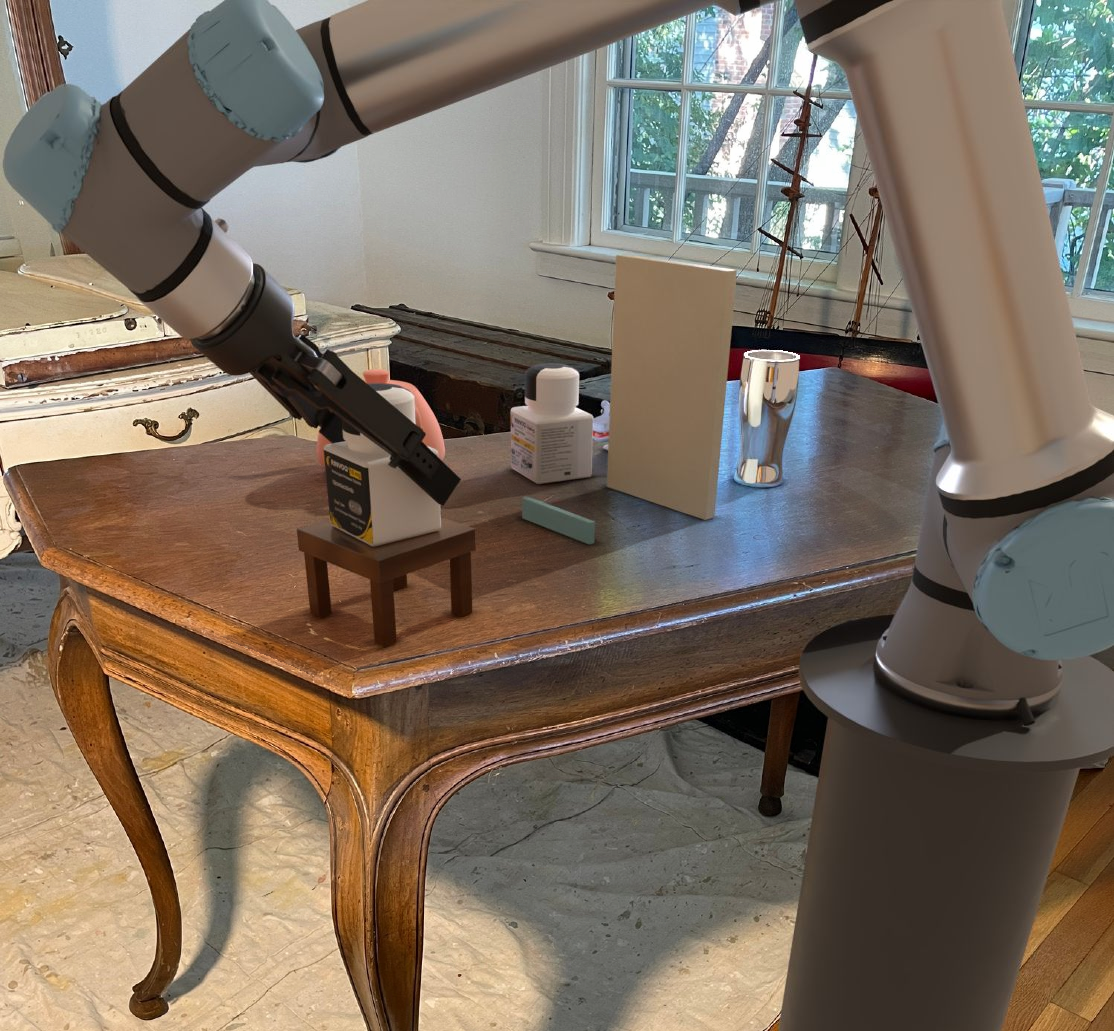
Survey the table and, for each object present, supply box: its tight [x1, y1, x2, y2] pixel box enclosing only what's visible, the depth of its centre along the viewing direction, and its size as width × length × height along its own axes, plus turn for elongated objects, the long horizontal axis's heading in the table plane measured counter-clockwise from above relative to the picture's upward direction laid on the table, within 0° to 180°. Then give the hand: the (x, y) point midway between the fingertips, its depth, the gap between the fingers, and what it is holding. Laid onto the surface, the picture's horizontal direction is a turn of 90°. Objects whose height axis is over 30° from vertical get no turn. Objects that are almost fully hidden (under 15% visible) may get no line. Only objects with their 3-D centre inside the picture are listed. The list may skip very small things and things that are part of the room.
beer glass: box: [733, 349, 801, 489], centre depth 134 cm, size 7×7×15 cm
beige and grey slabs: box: [521, 253, 738, 545], centre depth 118 cm, size 16×17×26 cm
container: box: [510, 362, 594, 485], centre depth 135 cm, size 8×8×13 cm
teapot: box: [316, 368, 446, 469], centre depth 135 cm, size 22×16×12 cm
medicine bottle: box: [324, 383, 442, 547], centre depth 93 cm, size 7×7×12 cm
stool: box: [296, 517, 477, 648], centre depth 98 cm, size 11×11×8 cm
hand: (412, 477), depth 96 cm, fingers open, 10 cm apart
